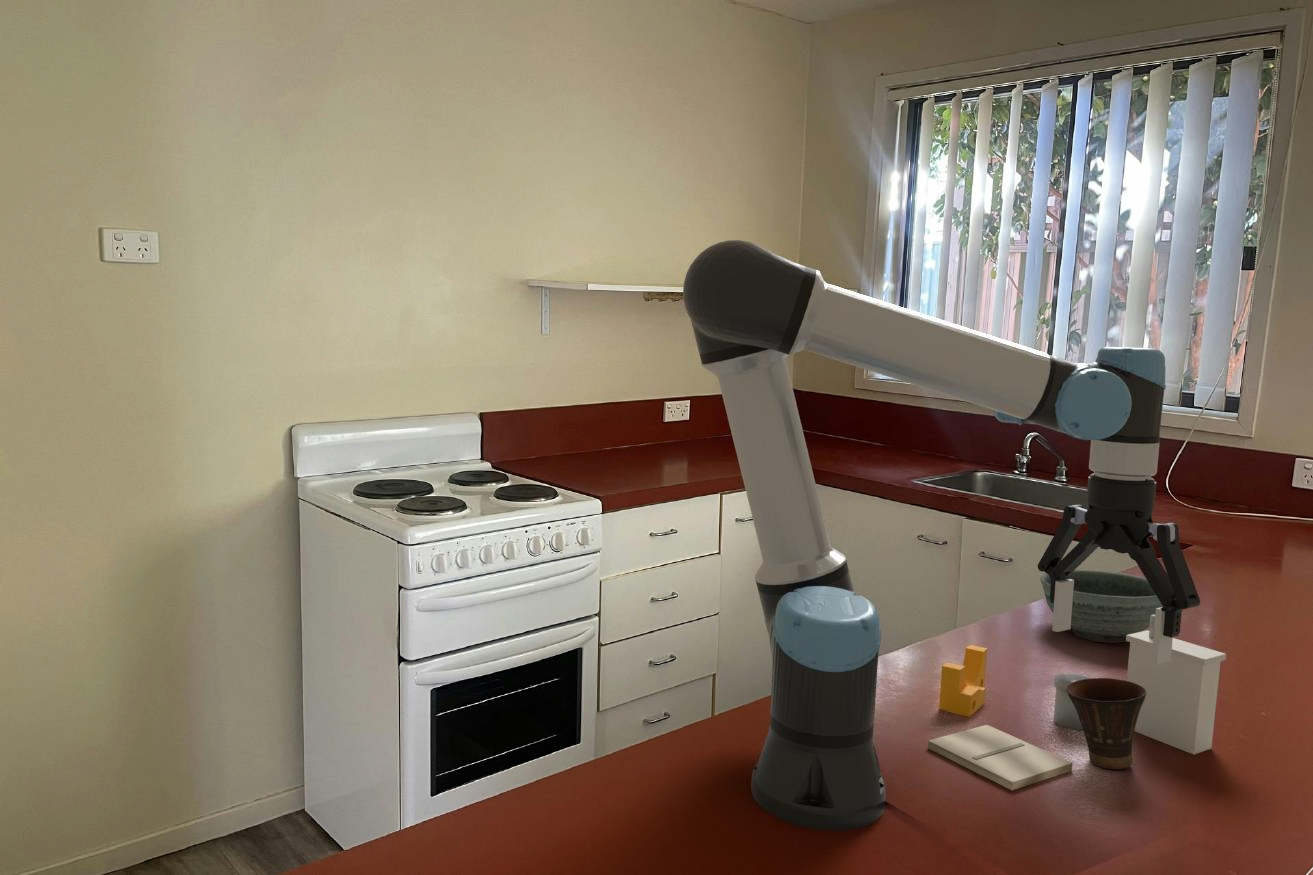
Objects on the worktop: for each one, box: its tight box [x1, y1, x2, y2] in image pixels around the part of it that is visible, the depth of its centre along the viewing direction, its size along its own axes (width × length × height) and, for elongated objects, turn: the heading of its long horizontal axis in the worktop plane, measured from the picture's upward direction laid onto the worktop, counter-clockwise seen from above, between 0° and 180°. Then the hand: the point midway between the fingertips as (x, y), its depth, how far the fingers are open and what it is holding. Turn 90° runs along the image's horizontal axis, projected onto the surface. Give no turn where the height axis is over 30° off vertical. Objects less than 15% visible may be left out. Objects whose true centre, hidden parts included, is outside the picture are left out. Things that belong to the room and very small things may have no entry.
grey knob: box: [1053, 672, 1092, 731], centre depth 138 cm, size 6×6×6 cm
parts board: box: [927, 724, 1073, 791], centre depth 126 cm, size 11×13×1 cm
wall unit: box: [1125, 615, 1227, 756], centre depth 134 cm, size 5×11×16 cm, turn 32°
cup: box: [1066, 677, 1146, 770], centre depth 126 cm, size 9×9×10 cm
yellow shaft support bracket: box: [938, 644, 988, 718], centre depth 145 cm, size 12×4×6 cm, turn 145°
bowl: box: [1039, 569, 1163, 643], centre depth 178 cm, size 21×21×10 cm
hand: (1108, 645), depth 125 cm, fingers open, 13 cm apart
